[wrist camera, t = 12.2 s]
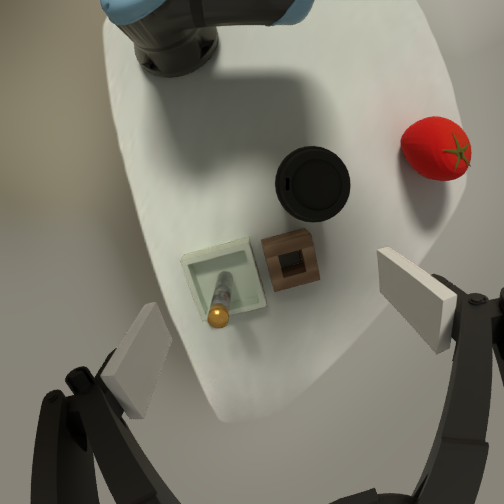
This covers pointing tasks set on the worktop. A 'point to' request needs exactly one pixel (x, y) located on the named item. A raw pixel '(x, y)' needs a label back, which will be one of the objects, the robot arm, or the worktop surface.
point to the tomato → (437, 148)
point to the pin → (221, 301)
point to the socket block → (296, 272)
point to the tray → (224, 259)
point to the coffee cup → (312, 184)
